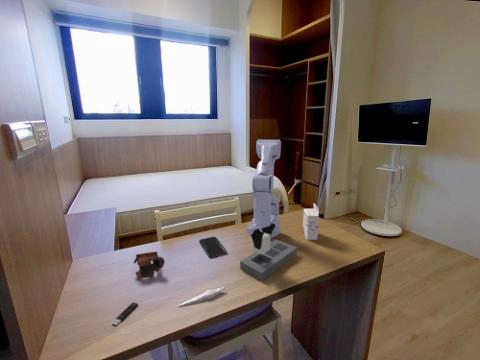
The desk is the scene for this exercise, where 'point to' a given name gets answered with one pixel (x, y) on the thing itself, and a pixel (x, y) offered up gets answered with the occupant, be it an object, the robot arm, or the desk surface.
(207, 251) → the phone
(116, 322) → the usb flash drive
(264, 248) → the plug
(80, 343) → the desk surface
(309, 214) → the ink cartridge box
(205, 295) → the white tapered rod
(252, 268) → the power strip
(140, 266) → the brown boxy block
